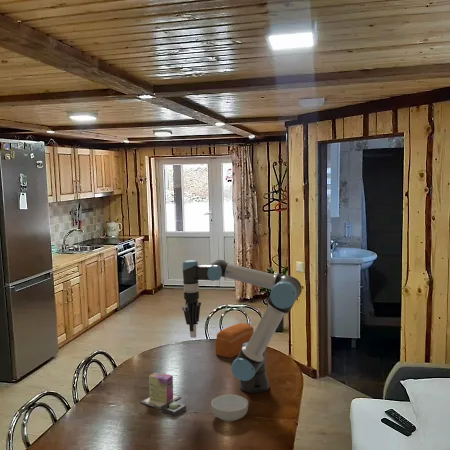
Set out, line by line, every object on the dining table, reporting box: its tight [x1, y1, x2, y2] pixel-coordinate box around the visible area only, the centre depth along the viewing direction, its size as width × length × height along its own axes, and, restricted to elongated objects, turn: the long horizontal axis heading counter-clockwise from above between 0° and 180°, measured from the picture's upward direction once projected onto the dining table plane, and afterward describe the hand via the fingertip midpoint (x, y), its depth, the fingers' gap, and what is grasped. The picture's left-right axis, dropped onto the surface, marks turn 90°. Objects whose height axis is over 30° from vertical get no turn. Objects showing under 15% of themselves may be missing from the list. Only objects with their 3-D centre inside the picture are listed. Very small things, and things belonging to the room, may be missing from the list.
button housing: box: [161, 401, 187, 418], centre depth 225 cm, size 8×8×2 cm
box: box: [148, 372, 174, 403], centre depth 236 cm, size 10×6×12 cm, turn 63°
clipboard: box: [140, 393, 182, 411], centre depth 236 cm, size 13×15×1 cm
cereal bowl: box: [210, 393, 249, 422], centre depth 218 cm, size 17×17×7 cm
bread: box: [215, 322, 255, 358], centre depth 303 cm, size 14×26×16 cm, turn 140°
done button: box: [169, 401, 179, 410], centre depth 224 cm, size 4×4×2 cm
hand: (193, 337), depth 244 cm, fingers closed
